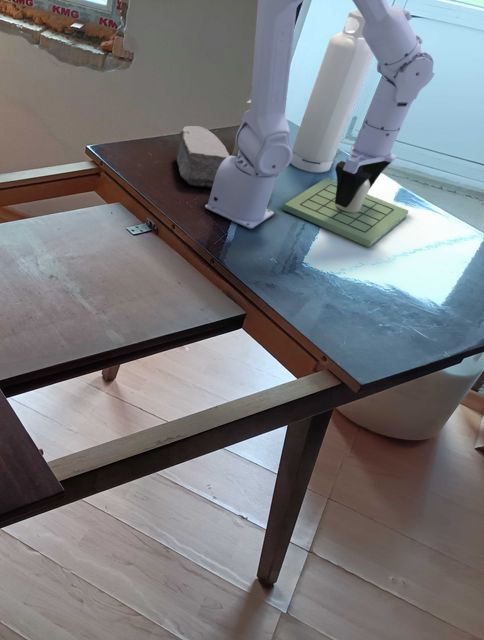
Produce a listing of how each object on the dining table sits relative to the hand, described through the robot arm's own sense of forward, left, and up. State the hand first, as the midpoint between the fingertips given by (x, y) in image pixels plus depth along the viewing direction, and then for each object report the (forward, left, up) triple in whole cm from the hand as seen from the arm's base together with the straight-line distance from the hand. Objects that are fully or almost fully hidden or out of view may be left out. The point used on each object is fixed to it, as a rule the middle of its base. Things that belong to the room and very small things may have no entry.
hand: (350, 198), depth 121 cm
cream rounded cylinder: (0, 0, -2) cm, 2 cm away
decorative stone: (-26, -9, -3) cm, 28 cm away
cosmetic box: (-23, +4, -3) cm, 24 cm away
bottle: (-14, +14, -3) cm, 20 cm away
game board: (0, 0, -3) cm, 3 cm away
